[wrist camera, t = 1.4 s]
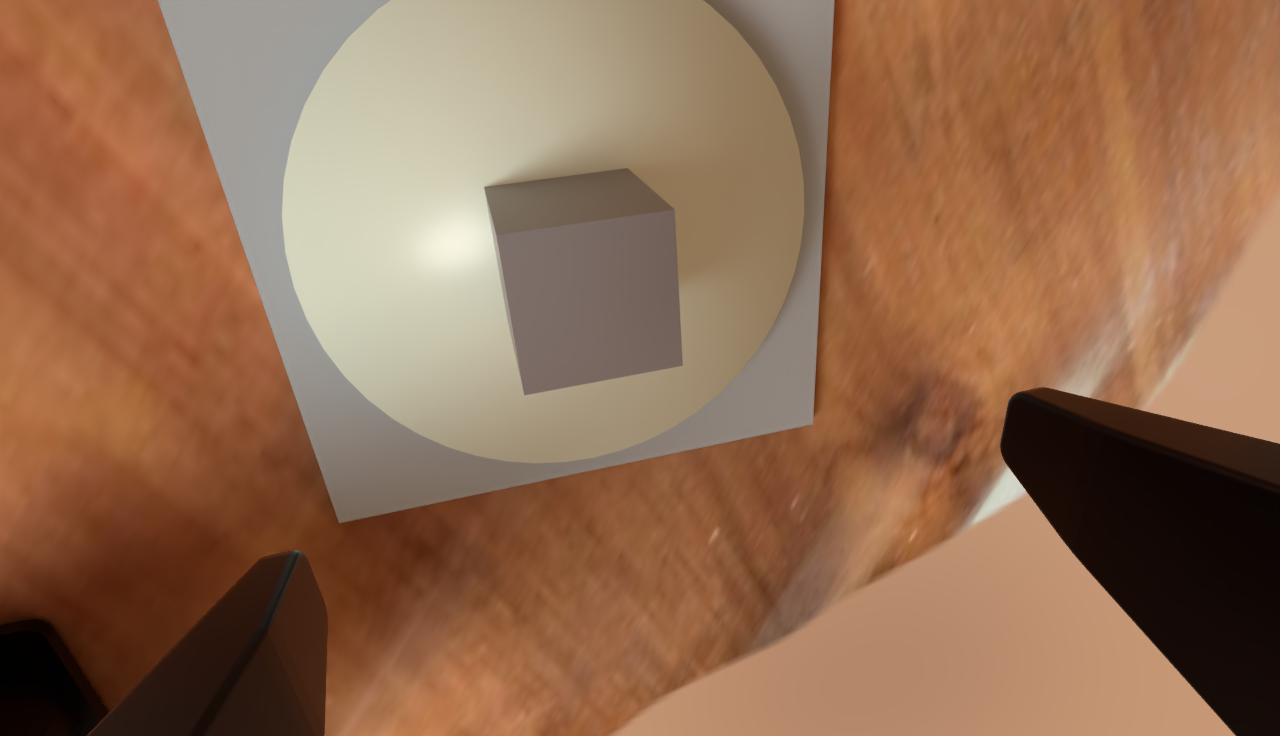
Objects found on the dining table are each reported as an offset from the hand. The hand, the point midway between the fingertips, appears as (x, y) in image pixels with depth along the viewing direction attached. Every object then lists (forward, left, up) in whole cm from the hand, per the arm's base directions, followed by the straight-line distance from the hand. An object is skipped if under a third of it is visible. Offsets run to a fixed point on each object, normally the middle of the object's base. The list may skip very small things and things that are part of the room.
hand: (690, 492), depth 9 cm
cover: (0, 0, -11) cm, 11 cm away
